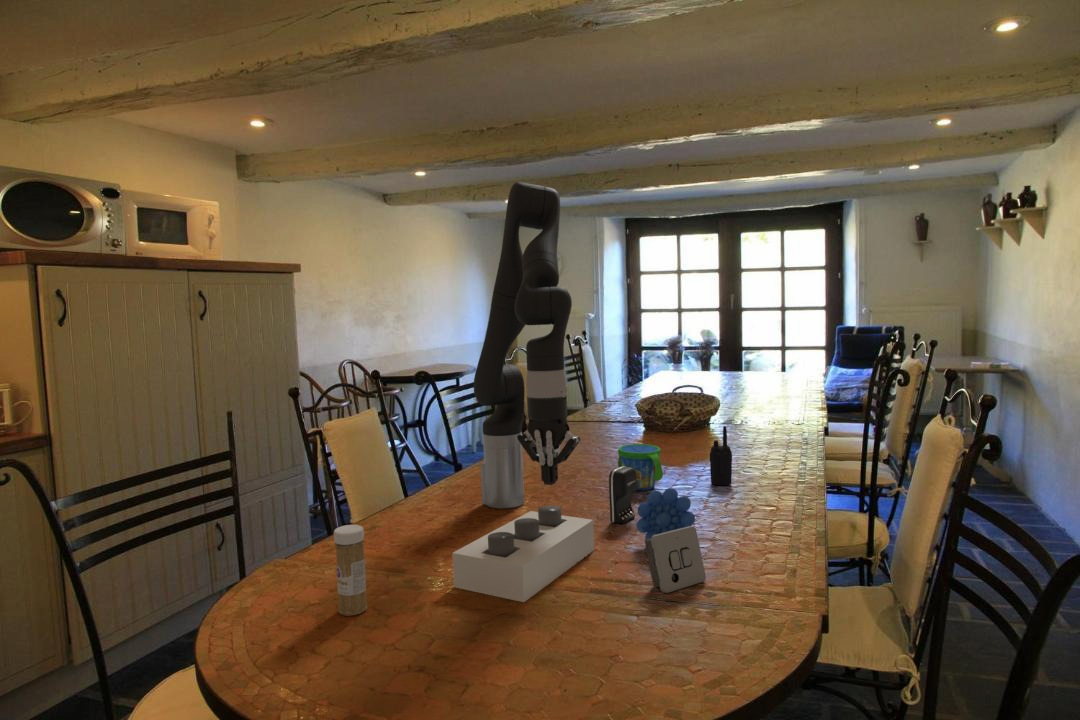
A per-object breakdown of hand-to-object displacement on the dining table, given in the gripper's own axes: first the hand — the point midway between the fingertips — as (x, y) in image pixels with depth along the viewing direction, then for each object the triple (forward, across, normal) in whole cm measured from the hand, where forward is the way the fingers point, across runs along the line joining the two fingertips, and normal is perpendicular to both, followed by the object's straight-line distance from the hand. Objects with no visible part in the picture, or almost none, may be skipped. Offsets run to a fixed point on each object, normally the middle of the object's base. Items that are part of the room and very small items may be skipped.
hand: (550, 483), depth 135 cm
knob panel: (+13, 0, -9) cm, 16 cm away
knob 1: (+10, 0, -17) cm, 20 cm away
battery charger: (+14, +5, +24) cm, 28 cm away
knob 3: (+10, 0, 0) cm, 10 cm away
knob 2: (+10, 0, -9) cm, 13 cm away
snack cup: (+14, -2, +50) cm, 52 cm away
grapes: (+14, +19, +12) cm, 26 cm away
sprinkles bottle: (+14, -16, -36) cm, 42 cm away
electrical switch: (+14, +26, -4) cm, 29 cm away
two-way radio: (+14, +16, +60) cm, 63 cm away
